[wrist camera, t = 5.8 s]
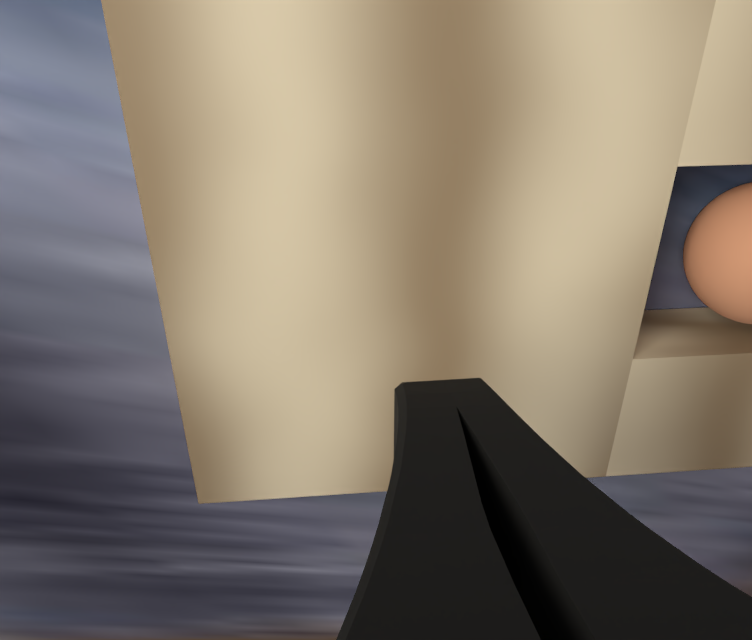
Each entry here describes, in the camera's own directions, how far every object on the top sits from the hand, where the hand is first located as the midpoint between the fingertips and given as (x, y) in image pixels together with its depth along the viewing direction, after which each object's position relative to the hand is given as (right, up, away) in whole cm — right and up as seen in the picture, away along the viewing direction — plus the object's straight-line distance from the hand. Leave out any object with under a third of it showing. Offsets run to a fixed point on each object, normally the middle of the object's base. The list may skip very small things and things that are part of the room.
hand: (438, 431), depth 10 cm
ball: (+9, +3, +6) cm, 11 cm away
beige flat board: (+3, +4, +7) cm, 9 cm away
